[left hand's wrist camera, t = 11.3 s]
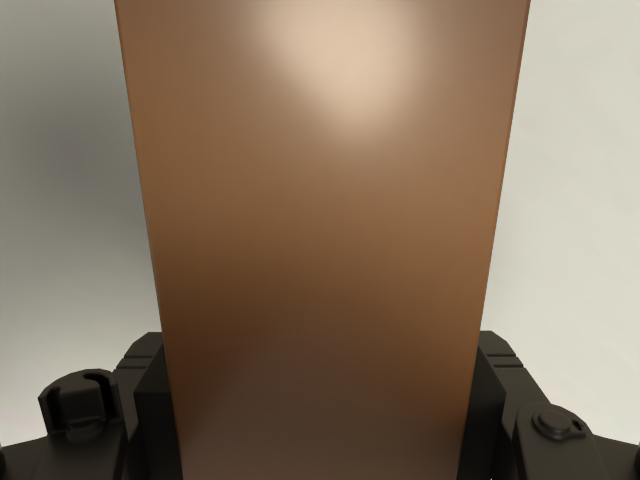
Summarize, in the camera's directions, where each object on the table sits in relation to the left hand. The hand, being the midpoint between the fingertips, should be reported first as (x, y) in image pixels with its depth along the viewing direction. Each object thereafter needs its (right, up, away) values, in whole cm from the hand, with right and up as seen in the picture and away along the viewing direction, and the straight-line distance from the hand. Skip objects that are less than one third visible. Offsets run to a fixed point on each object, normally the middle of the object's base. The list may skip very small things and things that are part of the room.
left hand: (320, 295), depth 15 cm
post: (0, +31, -11) cm, 33 cm away
